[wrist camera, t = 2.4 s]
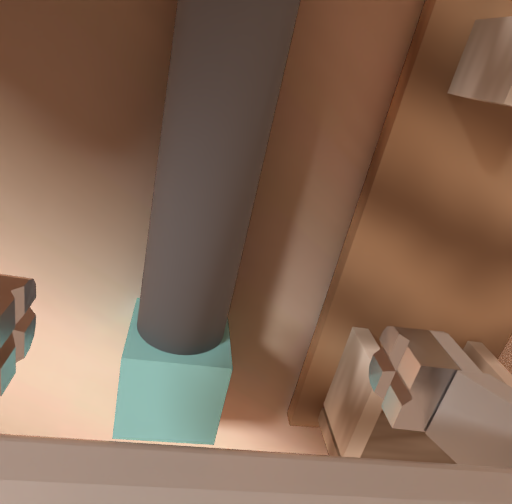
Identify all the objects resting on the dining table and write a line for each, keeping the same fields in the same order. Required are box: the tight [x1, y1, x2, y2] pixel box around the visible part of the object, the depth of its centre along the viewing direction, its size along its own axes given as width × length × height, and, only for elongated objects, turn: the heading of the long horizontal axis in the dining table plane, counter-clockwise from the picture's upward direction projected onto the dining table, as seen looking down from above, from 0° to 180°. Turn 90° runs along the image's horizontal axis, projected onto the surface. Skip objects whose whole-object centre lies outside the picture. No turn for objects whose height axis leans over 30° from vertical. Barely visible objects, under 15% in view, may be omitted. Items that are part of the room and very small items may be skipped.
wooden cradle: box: [287, 0, 512, 464], centre depth 21 cm, size 30×12×5 cm, turn 167°
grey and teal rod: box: [112, 0, 300, 445], centre depth 18 cm, size 28×5×5 cm, turn 167°
